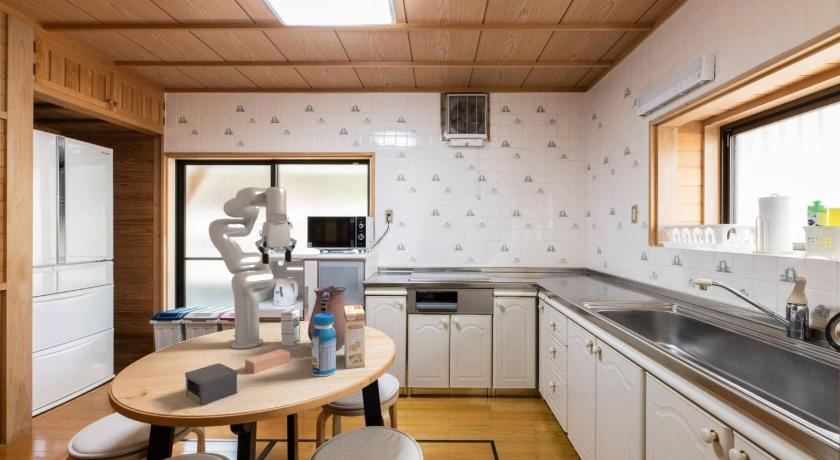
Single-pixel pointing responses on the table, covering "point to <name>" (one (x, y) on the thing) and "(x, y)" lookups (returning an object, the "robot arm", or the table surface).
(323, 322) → the beverage bottle
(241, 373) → the table surface
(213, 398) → the grey open-ended tunnel
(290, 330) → the syrup box
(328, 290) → the ceramic pitcher
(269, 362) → the terracotta slab
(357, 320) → the coffeecake box
